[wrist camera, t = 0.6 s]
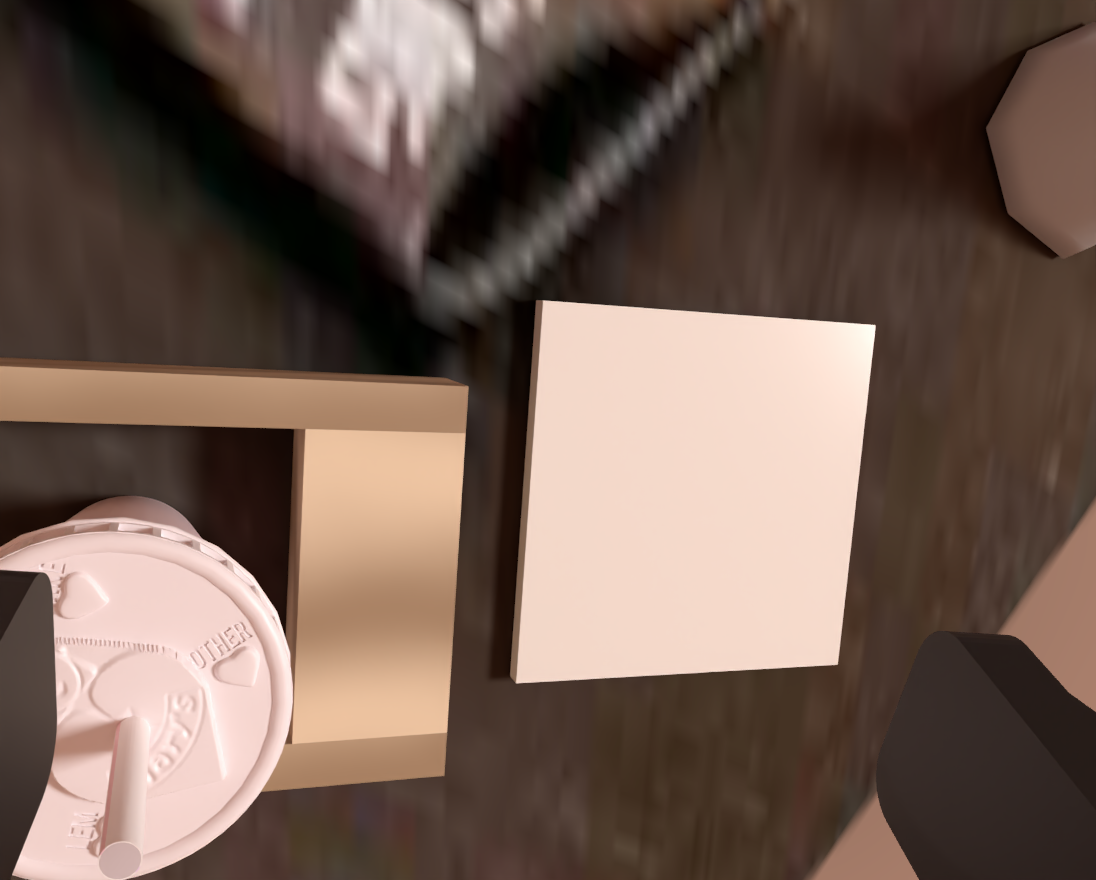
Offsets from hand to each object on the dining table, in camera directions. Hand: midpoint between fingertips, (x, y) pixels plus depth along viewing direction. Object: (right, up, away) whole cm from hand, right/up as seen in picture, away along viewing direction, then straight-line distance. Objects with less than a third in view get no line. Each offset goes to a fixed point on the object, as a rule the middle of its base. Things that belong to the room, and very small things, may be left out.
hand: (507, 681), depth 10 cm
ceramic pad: (+5, +1, +22) cm, 23 cm away
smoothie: (-10, -1, +17) cm, 20 cm away
